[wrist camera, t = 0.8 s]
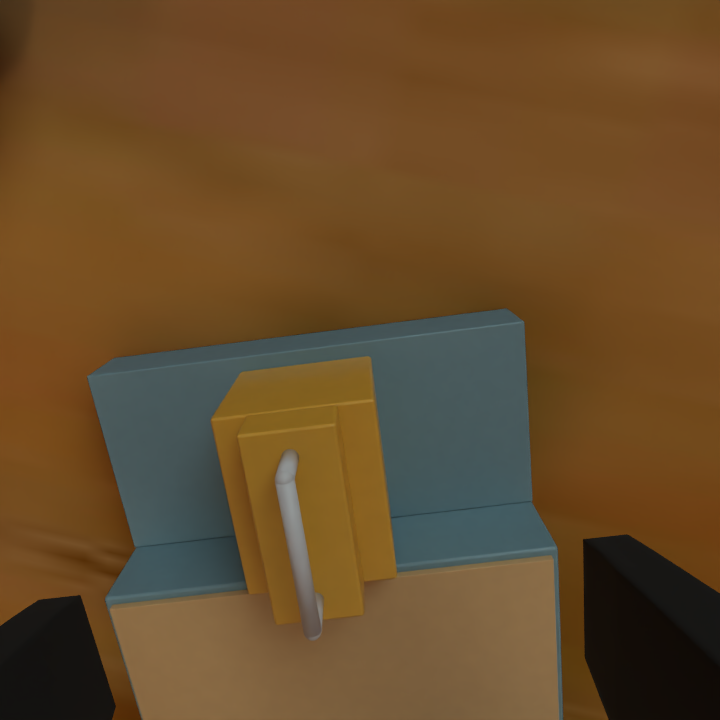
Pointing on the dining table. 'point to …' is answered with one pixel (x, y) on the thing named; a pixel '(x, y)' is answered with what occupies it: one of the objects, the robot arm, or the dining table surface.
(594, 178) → the dining table surface
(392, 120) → the dining table surface
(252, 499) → the block with handle
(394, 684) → the step rack
